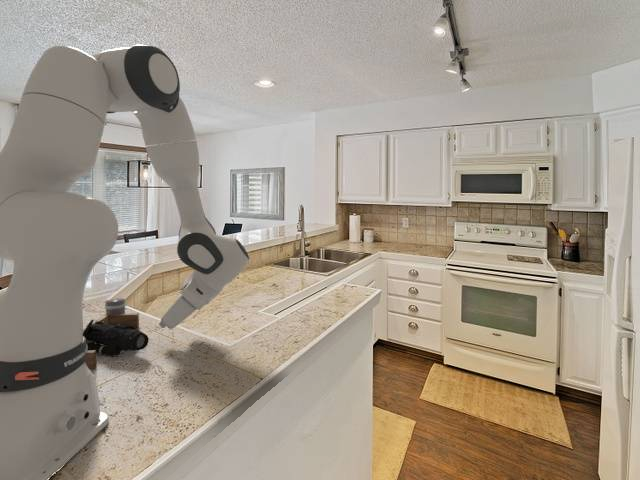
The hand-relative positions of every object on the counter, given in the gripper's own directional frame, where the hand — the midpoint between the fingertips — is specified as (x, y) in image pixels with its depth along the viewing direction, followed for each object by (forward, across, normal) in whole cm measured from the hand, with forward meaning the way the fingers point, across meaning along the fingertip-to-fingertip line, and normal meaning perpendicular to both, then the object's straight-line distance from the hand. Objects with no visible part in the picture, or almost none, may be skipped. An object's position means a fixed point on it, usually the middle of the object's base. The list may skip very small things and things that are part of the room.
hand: (162, 324), depth 87 cm
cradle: (+14, 0, -7) cm, 16 cm away
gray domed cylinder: (+17, -17, -9) cm, 26 cm away
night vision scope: (+11, +4, -3) cm, 12 cm away
